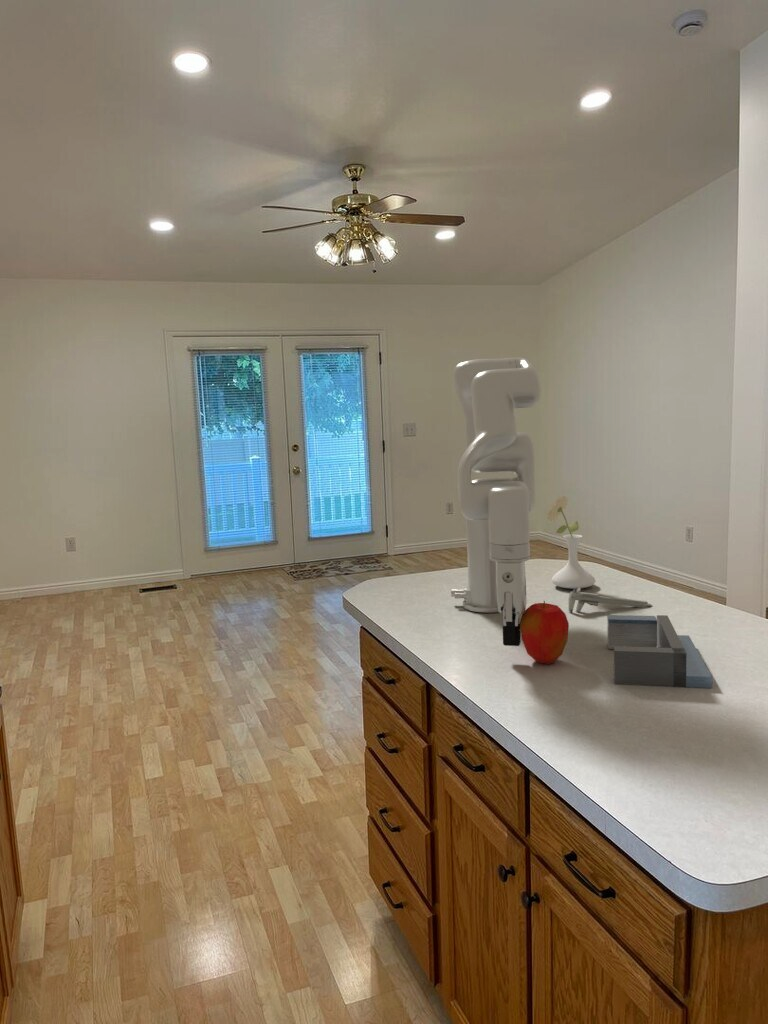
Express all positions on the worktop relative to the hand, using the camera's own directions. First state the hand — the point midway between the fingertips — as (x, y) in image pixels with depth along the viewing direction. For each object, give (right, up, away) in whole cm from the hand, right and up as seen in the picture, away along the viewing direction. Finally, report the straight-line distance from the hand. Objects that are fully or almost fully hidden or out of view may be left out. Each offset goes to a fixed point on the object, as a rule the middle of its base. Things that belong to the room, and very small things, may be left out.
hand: (511, 644), depth 136 cm
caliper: (+29, +2, +31) cm, 42 cm away
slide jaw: (+24, -1, +3) cm, 25 cm away
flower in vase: (+25, +5, +52) cm, 58 cm away
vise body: (+26, -3, -5) cm, 26 cm away
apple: (+6, -3, -1) cm, 7 cm away
